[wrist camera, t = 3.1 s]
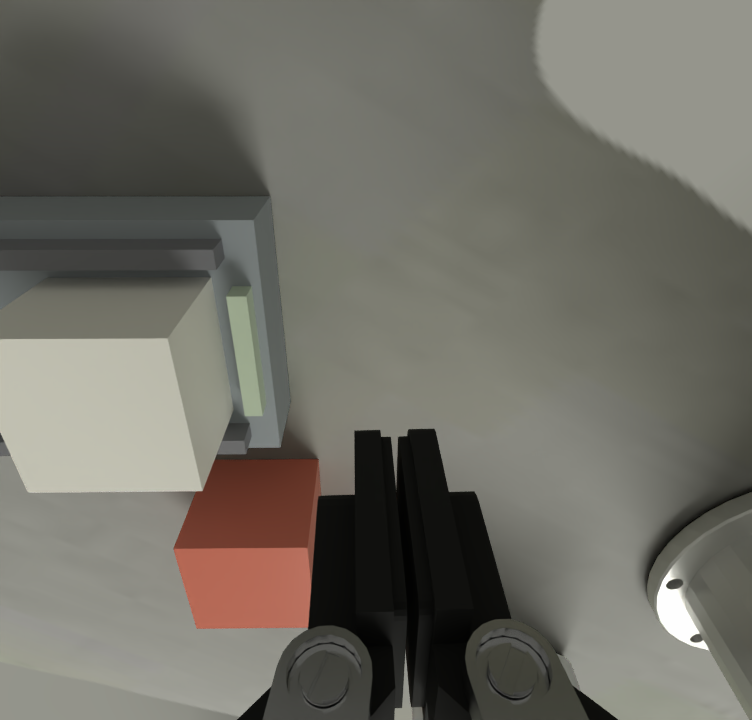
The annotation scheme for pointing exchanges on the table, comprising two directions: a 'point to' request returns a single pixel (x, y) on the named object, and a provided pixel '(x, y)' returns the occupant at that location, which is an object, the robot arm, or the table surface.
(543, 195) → the table surface
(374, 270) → the table surface
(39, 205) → the grey tray
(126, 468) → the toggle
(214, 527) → the red cube
